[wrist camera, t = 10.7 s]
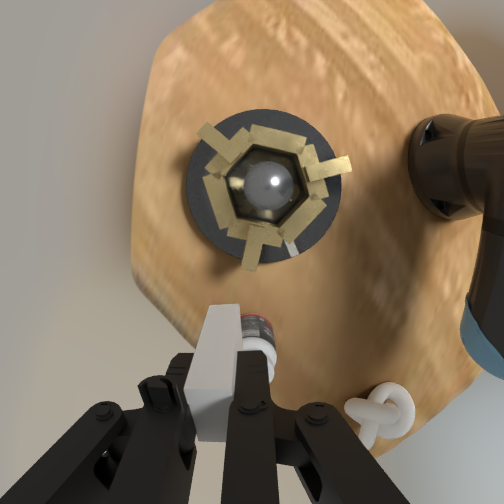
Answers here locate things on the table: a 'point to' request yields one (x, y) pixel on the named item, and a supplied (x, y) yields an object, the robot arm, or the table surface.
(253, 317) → the pill bottle
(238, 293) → the table surface
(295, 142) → the taped hex socket base
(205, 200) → the hub plate
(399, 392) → the white knot sculpture
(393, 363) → the table surface
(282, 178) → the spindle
